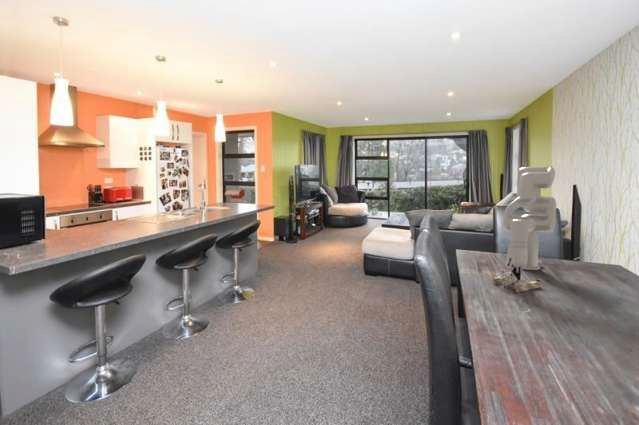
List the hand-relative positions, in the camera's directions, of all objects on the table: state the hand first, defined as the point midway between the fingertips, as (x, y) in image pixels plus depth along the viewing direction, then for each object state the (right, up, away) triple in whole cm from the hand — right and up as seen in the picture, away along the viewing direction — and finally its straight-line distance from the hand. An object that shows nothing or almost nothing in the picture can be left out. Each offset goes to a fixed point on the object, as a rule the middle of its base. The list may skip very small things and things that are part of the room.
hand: (516, 279), depth 171 cm
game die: (-5, -3, -2) cm, 7 cm away
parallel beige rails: (0, -3, +1) cm, 3 cm away
